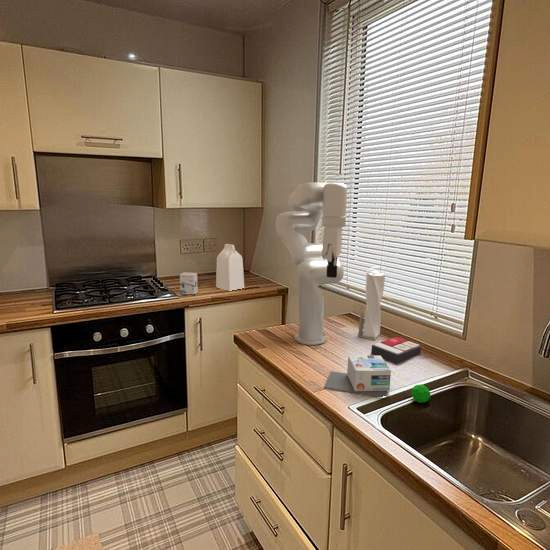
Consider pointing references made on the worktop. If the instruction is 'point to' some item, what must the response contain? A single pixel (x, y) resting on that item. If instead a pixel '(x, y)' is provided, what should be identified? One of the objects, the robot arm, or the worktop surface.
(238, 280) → the milk
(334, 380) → the mat
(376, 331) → the skyscraper
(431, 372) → the worktop surface
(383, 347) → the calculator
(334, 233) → the robot arm
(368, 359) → the light bulb box
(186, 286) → the ink box
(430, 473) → the worktop surface
